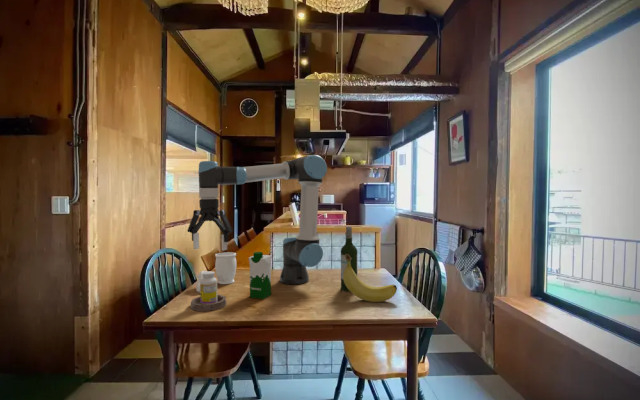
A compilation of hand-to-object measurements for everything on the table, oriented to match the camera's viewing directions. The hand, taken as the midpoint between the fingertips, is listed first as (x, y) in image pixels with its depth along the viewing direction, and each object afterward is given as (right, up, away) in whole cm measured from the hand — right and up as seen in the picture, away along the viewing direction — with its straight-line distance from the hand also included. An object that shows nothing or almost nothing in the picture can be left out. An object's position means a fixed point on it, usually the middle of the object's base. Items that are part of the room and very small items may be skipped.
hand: (210, 249), depth 135 cm
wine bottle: (+60, -22, +20) cm, 67 cm away
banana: (+67, -23, +3) cm, 71 cm away
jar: (-3, -23, +33) cm, 40 cm away
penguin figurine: (-10, -23, +20) cm, 32 cm away
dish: (0, -23, -1) cm, 23 cm away
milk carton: (+19, -23, +10) cm, 32 cm away
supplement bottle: (0, -22, -1) cm, 22 cm away
